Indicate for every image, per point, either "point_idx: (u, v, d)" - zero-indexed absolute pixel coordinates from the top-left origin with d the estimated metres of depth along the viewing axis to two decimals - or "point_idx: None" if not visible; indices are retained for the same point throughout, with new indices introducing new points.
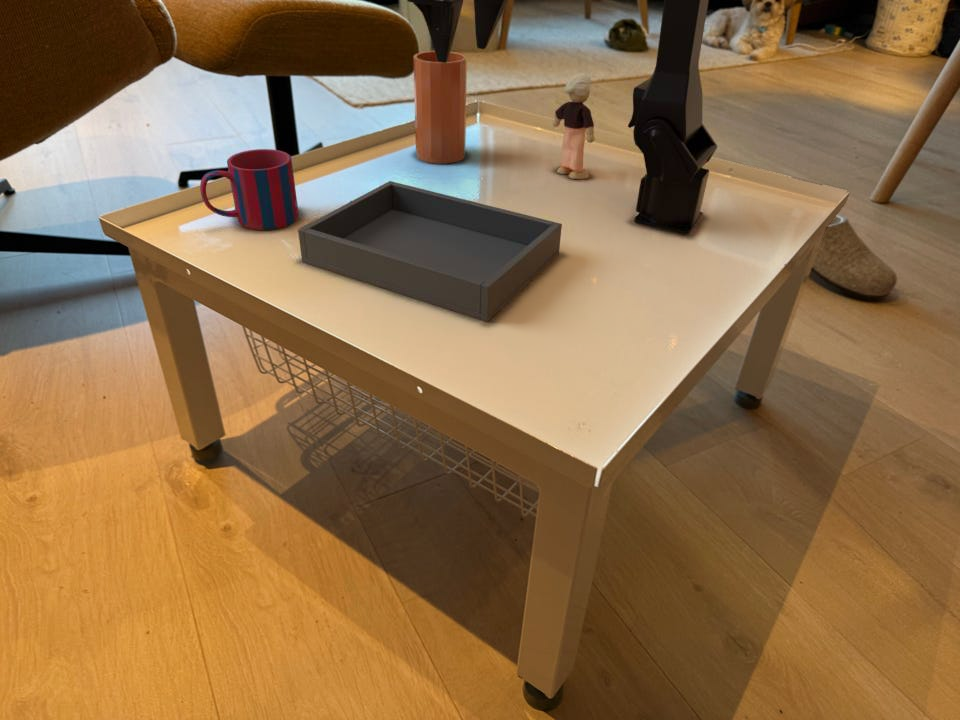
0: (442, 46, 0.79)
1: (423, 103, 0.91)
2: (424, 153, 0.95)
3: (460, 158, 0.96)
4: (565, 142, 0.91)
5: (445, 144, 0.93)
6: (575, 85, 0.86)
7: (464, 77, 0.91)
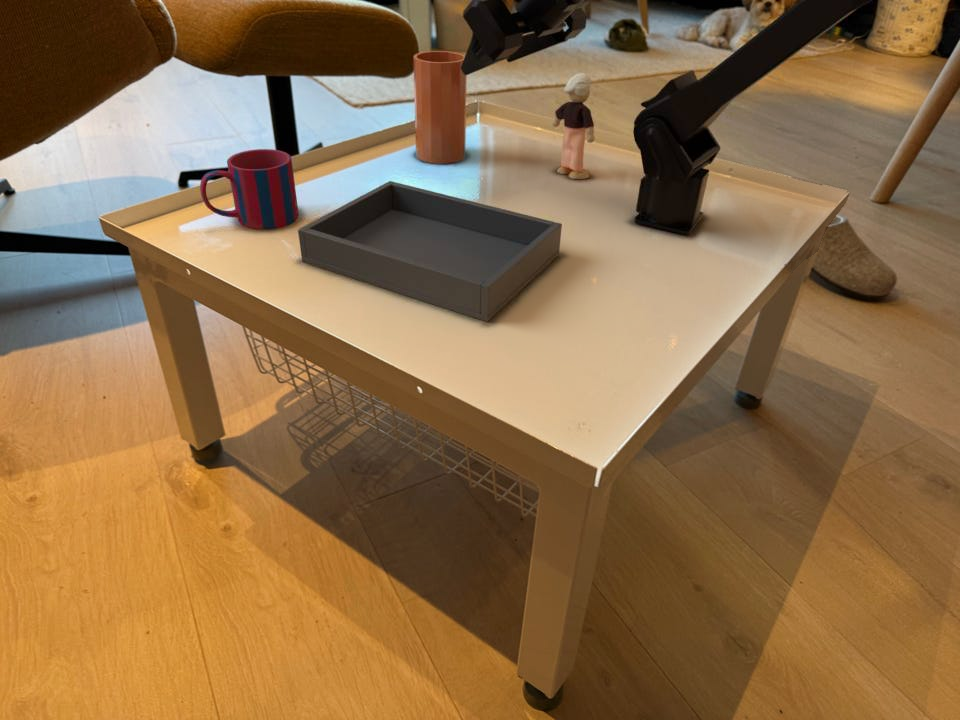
0: (470, 65, 0.82)
1: (423, 103, 0.91)
2: (424, 153, 0.95)
3: (460, 158, 0.96)
4: (565, 142, 0.91)
5: (445, 144, 0.93)
6: (575, 85, 0.86)
7: (464, 77, 0.91)
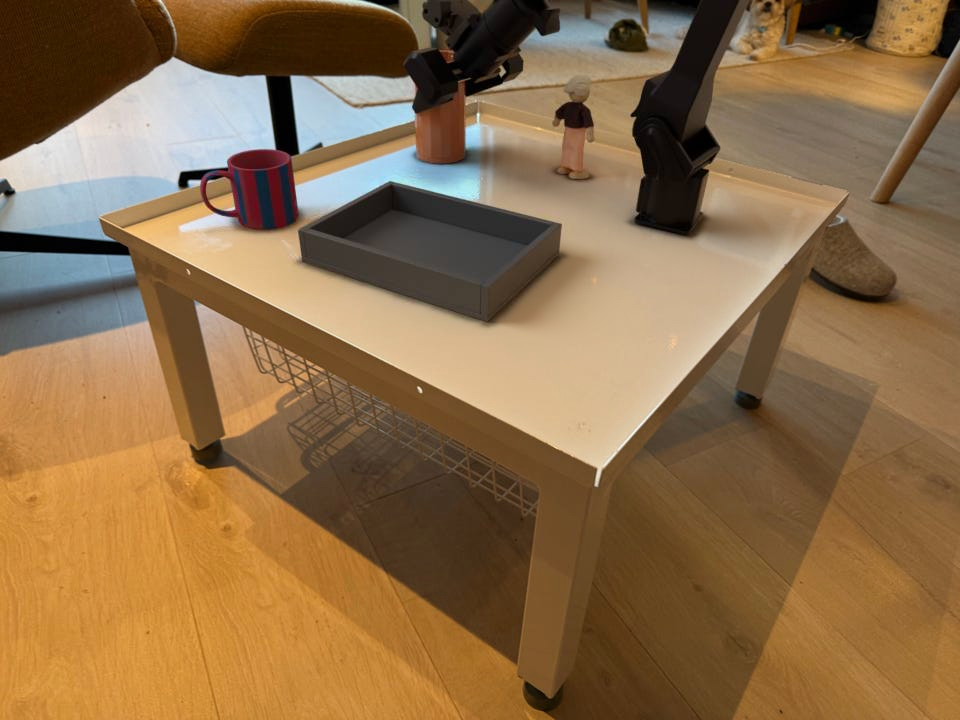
0: (420, 105, 0.90)
1: None
2: (424, 153, 0.95)
3: (460, 158, 0.96)
4: (565, 142, 0.91)
5: (445, 144, 0.93)
6: (575, 85, 0.86)
7: None
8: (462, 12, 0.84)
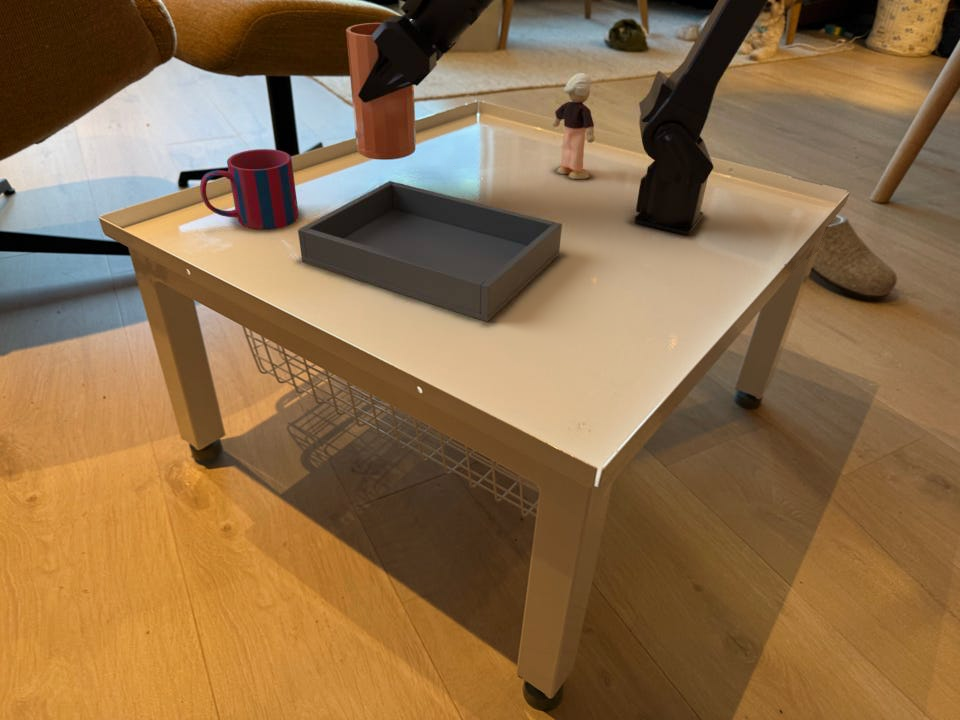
0: (372, 91, 0.74)
1: None
2: (377, 149, 0.78)
3: (415, 148, 0.81)
4: (565, 142, 0.91)
5: (402, 134, 0.78)
6: (575, 85, 0.86)
7: None
8: None
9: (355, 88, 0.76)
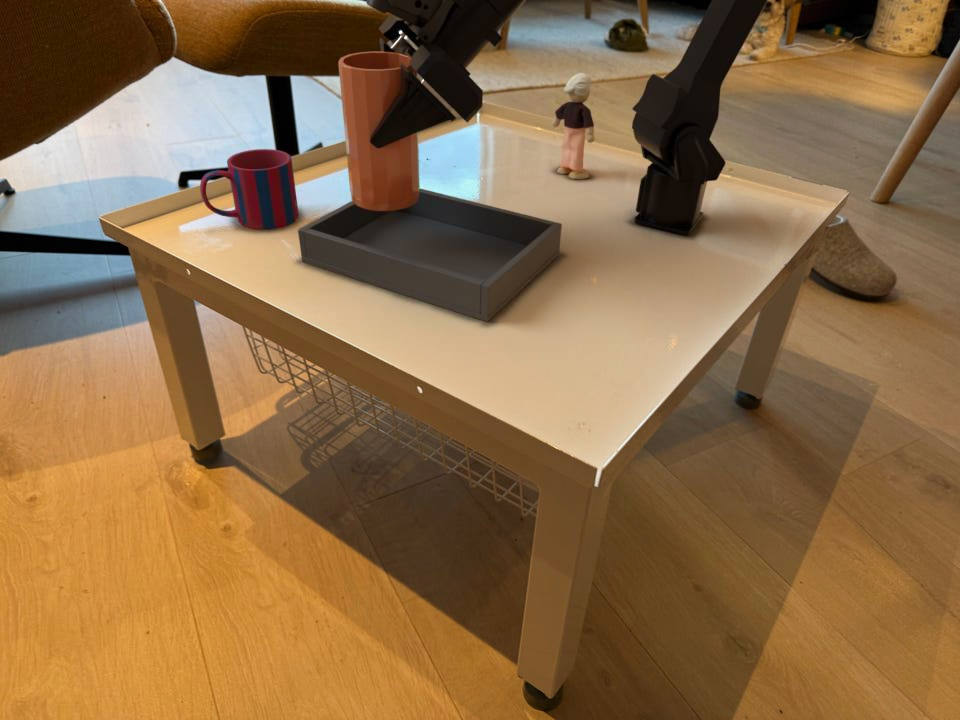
0: (390, 133, 0.62)
1: None
2: (390, 199, 0.67)
3: None
4: (565, 142, 0.91)
5: (414, 177, 0.67)
6: (575, 85, 0.86)
7: None
8: None
9: (360, 133, 0.63)
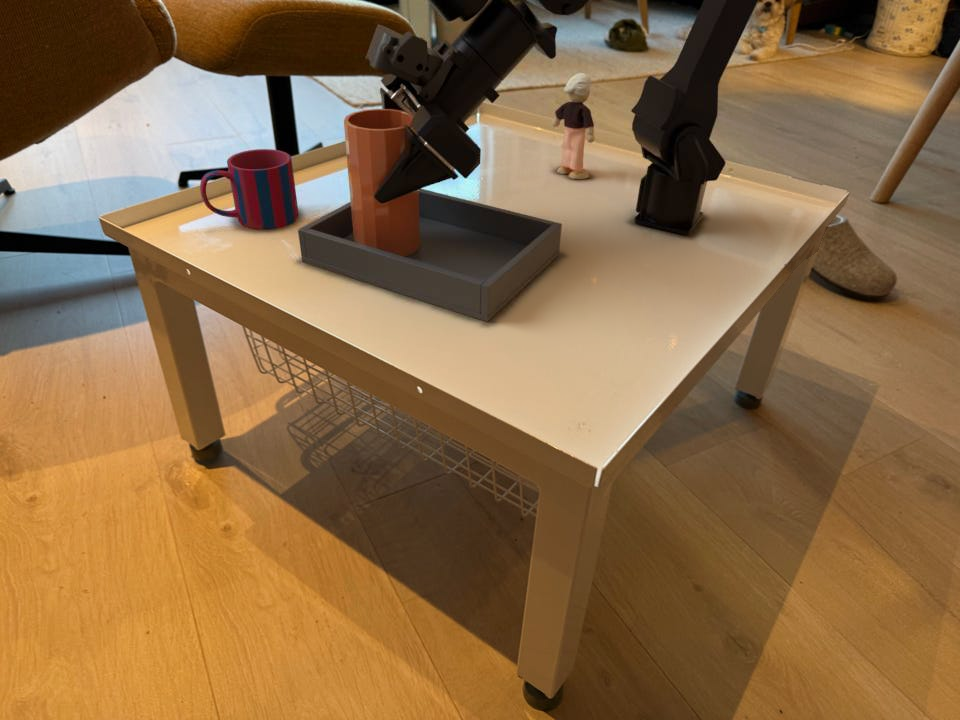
0: (394, 190, 0.64)
1: None
2: (392, 248, 0.70)
3: None
4: (565, 142, 0.91)
5: (415, 227, 0.70)
6: (575, 85, 0.86)
7: None
8: None
9: (364, 187, 0.66)
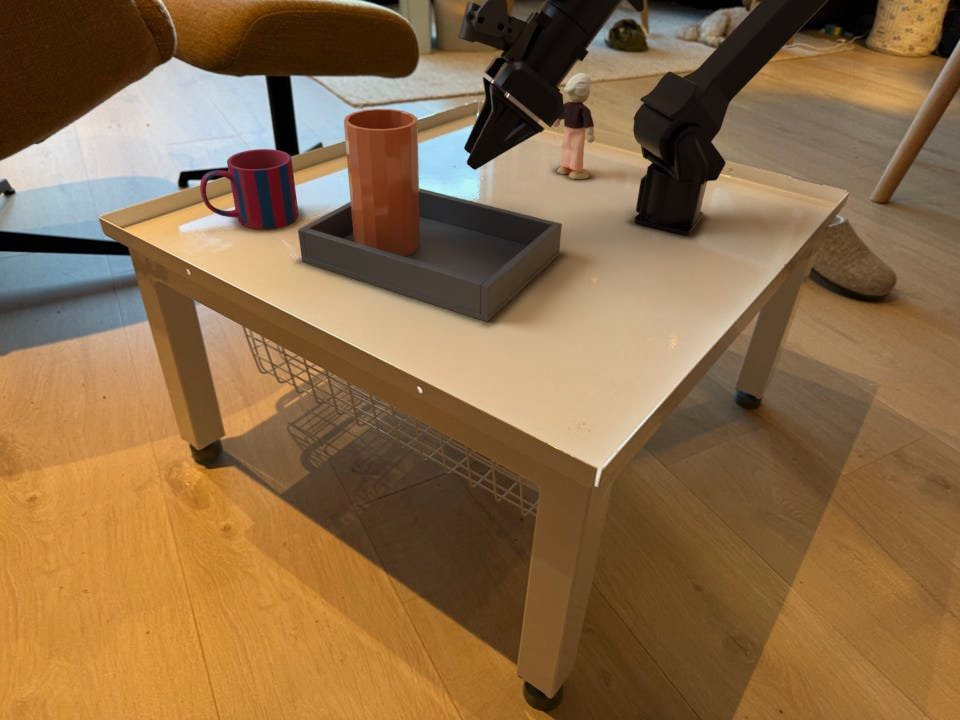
0: (484, 153, 0.65)
1: (389, 185, 0.66)
2: (392, 248, 0.70)
3: None
4: (565, 142, 0.91)
5: (415, 227, 0.70)
6: (575, 85, 0.86)
7: None
8: None
9: (364, 187, 0.66)
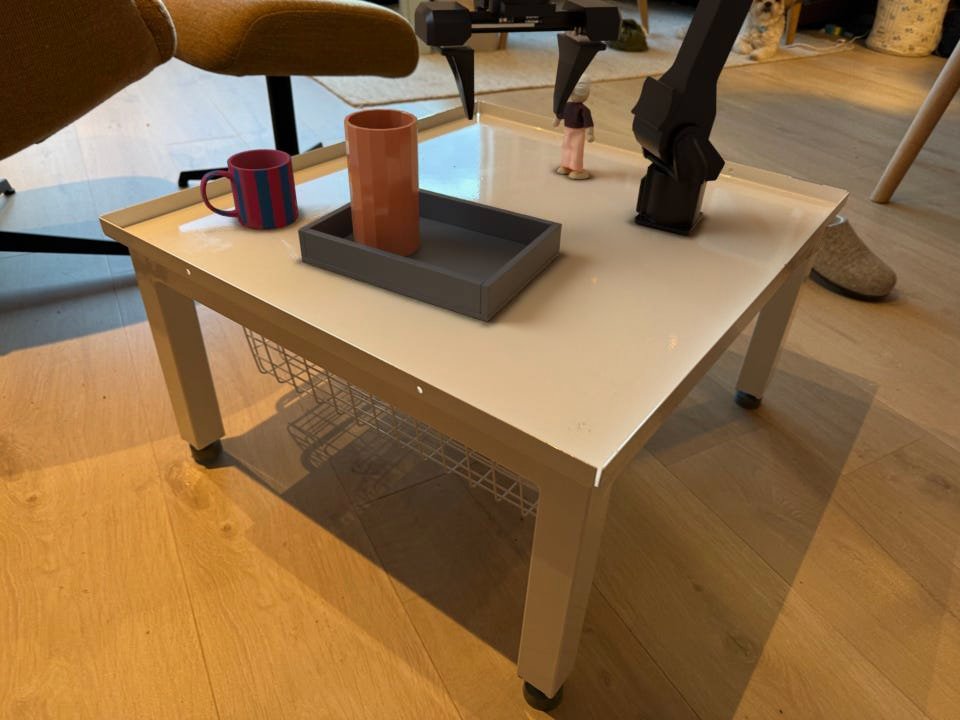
0: (465, 101, 0.67)
1: (389, 185, 0.66)
2: (392, 248, 0.70)
3: None
4: (565, 142, 0.91)
5: (415, 227, 0.70)
6: None
7: None
8: None
9: (364, 187, 0.66)
